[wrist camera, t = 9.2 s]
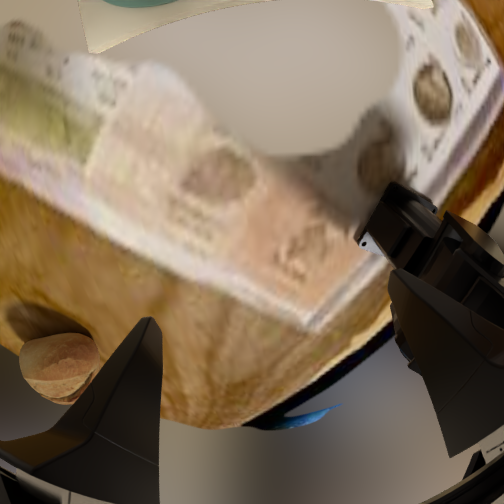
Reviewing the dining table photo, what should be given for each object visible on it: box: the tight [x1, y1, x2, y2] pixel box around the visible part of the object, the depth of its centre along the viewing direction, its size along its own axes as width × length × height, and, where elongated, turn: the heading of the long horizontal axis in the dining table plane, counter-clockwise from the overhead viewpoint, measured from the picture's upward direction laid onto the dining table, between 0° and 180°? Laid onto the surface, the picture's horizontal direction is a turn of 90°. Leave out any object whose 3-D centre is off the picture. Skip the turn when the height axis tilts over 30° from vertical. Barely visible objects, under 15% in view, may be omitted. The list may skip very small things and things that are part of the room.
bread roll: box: [19, 333, 100, 405], centre depth 25 cm, size 10×15×8 cm, turn 113°
